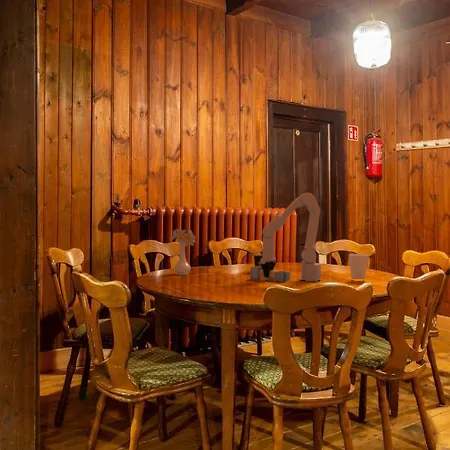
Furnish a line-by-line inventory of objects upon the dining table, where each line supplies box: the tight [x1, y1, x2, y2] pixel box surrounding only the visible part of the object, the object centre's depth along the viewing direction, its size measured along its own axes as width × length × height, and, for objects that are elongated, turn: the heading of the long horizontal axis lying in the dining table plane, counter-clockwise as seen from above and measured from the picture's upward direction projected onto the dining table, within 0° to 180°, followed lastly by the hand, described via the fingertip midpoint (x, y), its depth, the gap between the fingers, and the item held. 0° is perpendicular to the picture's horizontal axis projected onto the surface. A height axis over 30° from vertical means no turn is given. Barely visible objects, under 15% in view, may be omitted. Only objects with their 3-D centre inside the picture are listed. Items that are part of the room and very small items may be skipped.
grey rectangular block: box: [249, 265, 263, 281], centre depth 244 cm, size 4×7×6 cm, turn 151°
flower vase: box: [169, 228, 197, 276], centre depth 261 cm, size 13×18×25 cm
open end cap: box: [274, 270, 291, 283], centre depth 238 cm, size 5×7×5 cm
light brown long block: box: [258, 269, 282, 282], centre depth 241 cm, size 12×4×5 cm, turn 61°
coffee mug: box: [253, 253, 276, 266], centre depth 270 cm, size 12×9×10 cm
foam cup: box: [348, 253, 369, 280], centre depth 241 cm, size 10×9×13 cm
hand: (268, 276), depth 241 cm, fingers closed on light brown long block, 3 cm apart
